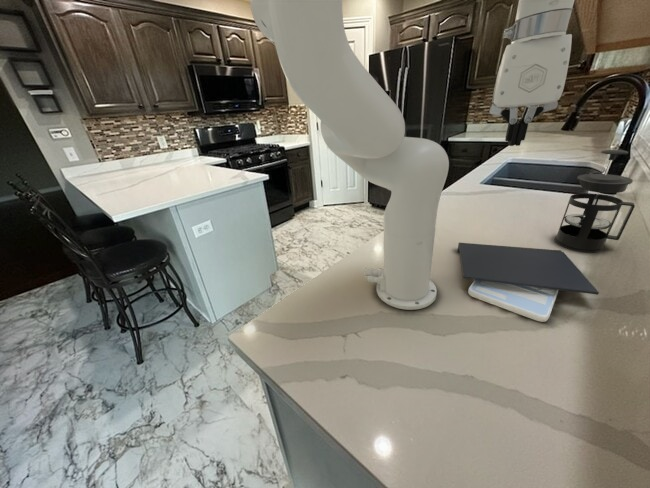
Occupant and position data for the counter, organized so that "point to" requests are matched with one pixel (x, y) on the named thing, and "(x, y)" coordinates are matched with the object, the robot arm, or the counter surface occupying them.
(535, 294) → the calculator
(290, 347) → the counter surface
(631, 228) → the counter surface
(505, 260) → the cover
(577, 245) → the french press
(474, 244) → the hinge strip
